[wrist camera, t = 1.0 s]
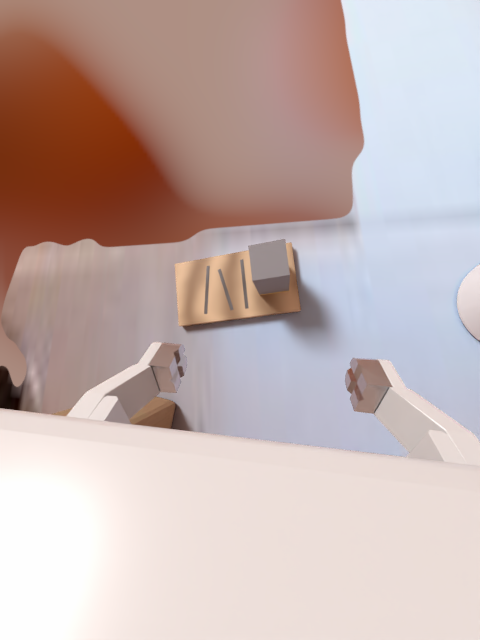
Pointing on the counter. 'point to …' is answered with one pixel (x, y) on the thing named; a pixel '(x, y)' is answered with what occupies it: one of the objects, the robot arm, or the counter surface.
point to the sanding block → (270, 267)
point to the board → (228, 290)
